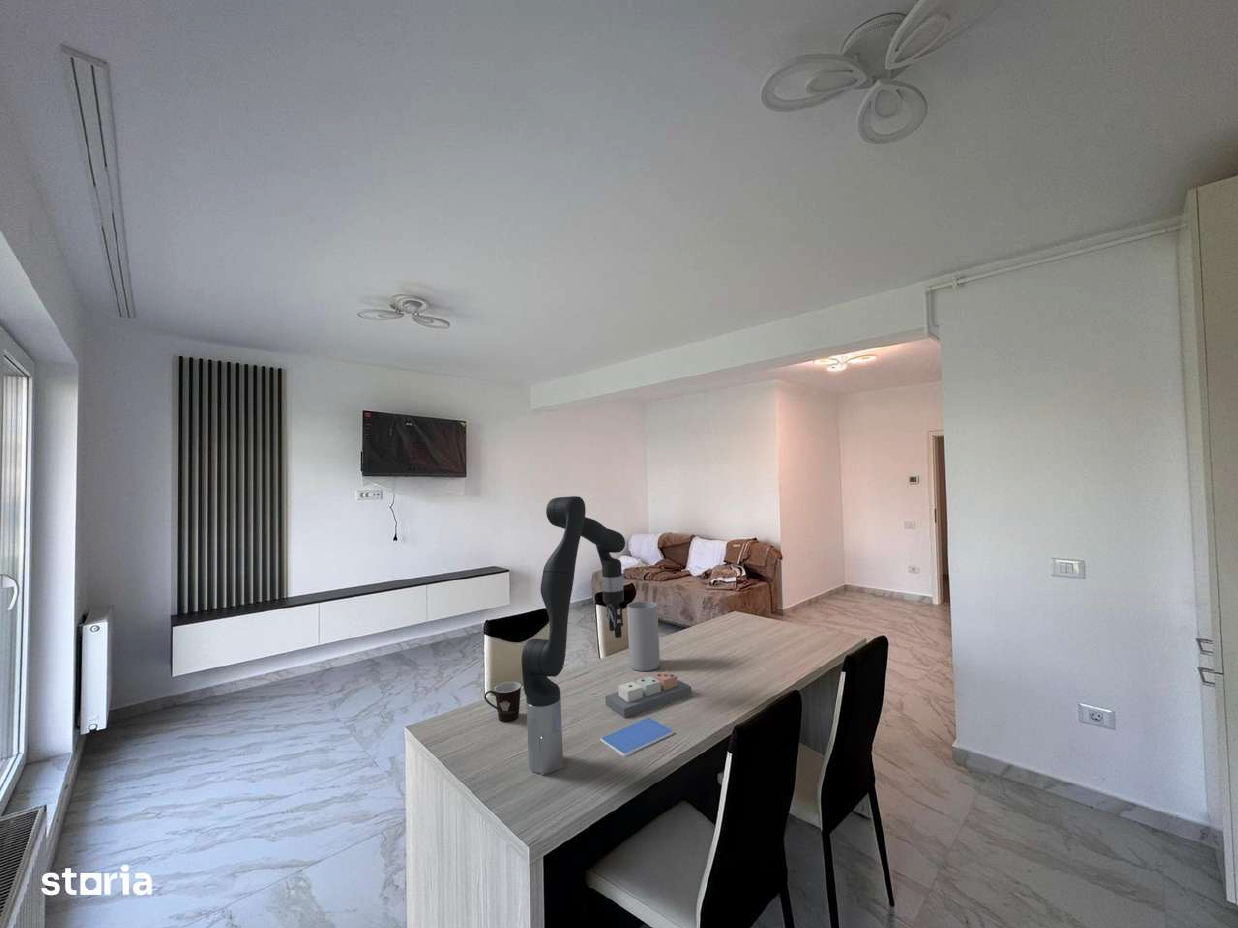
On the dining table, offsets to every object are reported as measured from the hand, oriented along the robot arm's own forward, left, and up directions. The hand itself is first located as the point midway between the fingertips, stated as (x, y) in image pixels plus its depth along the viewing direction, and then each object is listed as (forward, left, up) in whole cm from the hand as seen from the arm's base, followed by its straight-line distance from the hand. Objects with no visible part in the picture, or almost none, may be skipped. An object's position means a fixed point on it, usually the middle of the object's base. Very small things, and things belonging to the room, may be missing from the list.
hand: (615, 633), depth 173 cm
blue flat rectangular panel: (-27, +10, -23) cm, 37 cm away
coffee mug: (+10, +38, -22) cm, 45 cm away
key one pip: (-9, +1, -19) cm, 21 cm away
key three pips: (-9, -14, -19) cm, 26 cm away
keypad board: (-9, -7, -22) cm, 25 cm away
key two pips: (-9, -7, -19) cm, 22 cm away
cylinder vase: (+18, -24, -22) cm, 37 cm away
